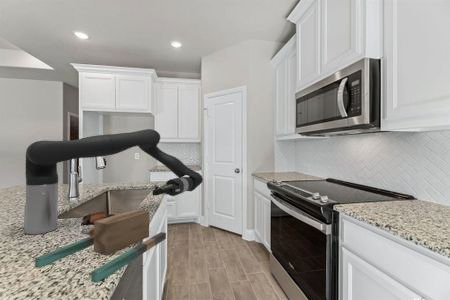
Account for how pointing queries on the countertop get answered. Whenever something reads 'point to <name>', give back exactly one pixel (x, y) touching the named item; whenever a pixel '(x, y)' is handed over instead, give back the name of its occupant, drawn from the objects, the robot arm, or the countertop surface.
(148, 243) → the lane
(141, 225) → the walnut block
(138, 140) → the robot arm
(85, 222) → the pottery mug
